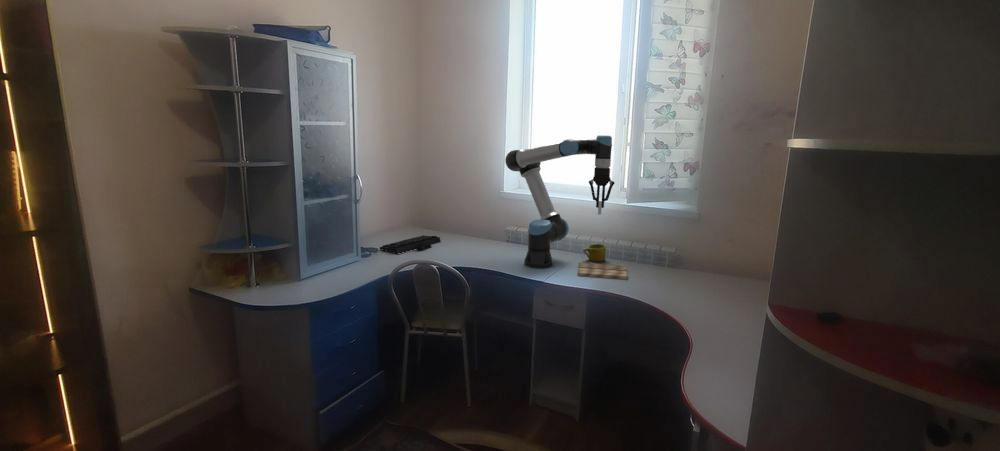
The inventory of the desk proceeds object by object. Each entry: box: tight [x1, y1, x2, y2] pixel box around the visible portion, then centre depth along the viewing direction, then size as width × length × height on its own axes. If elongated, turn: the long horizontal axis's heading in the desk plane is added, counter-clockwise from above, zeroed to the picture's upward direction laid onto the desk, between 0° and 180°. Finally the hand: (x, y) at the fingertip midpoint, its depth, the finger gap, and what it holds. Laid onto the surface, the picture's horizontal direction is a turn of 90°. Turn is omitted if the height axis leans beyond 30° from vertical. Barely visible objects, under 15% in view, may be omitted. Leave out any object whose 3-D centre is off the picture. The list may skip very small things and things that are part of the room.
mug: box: [582, 243, 606, 263], centre depth 264 cm, size 12×10×10 cm
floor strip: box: [577, 267, 628, 280], centre depth 239 cm, size 24×9×2 cm, turn 79°
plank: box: [577, 262, 627, 272], centre depth 247 cm, size 24×7×2 cm, turn 79°
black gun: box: [379, 235, 442, 254], centre depth 285 cm, size 37×22×5 cm, turn 146°
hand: (599, 214), depth 241 cm, fingers closed
